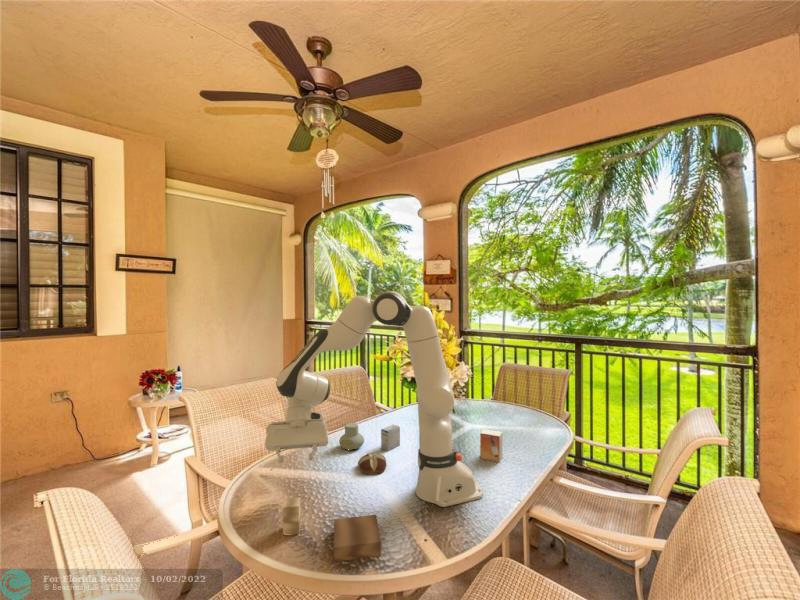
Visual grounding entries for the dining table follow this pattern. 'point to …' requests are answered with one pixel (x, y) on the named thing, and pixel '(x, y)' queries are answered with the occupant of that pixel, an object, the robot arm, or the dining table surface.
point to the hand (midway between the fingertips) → (296, 461)
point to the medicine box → (390, 437)
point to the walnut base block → (356, 538)
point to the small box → (491, 445)
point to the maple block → (291, 516)
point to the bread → (372, 463)
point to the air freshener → (351, 437)
